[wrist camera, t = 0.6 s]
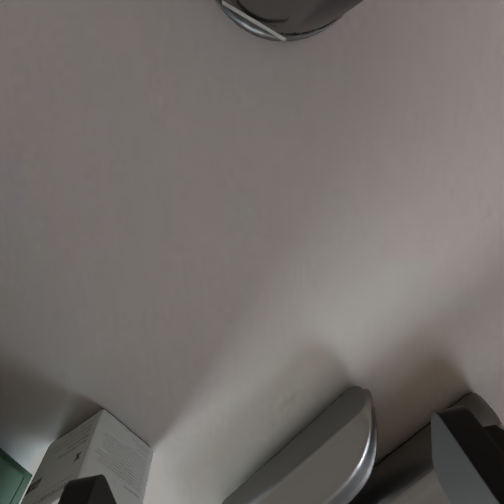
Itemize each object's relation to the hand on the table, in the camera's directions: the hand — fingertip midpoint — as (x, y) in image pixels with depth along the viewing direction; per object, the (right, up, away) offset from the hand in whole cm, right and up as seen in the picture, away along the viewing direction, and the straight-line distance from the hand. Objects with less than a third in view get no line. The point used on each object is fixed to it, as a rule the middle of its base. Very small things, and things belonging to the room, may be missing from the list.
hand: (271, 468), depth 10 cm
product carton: (-13, -11, +24) cm, 29 cm away
